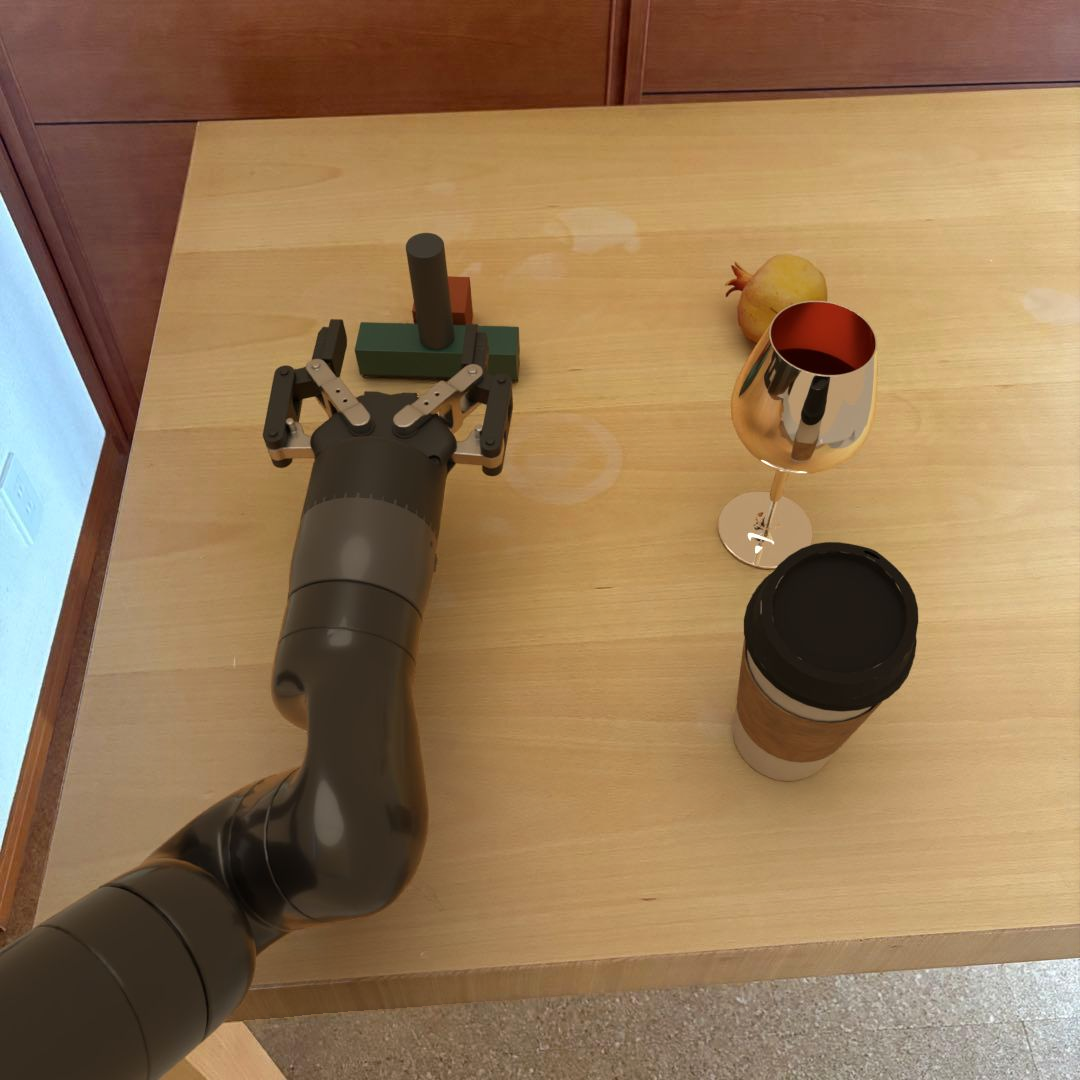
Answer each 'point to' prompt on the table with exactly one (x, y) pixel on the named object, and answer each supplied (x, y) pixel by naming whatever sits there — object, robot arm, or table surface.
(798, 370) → the wineglass
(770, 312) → the fruit
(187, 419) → the table surface
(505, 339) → the wiper
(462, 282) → the rust-brown cube
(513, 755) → the table surface
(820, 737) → the coffee cup
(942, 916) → the table surface
